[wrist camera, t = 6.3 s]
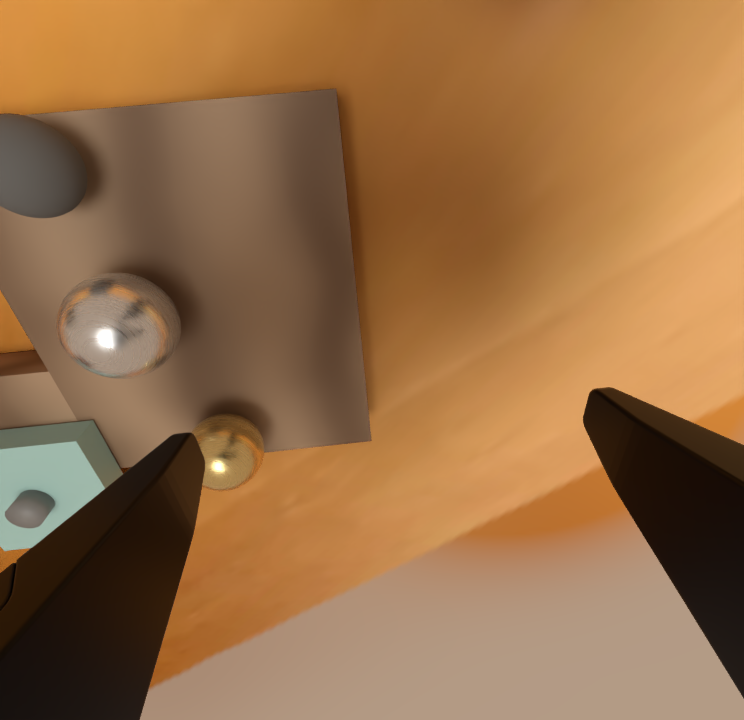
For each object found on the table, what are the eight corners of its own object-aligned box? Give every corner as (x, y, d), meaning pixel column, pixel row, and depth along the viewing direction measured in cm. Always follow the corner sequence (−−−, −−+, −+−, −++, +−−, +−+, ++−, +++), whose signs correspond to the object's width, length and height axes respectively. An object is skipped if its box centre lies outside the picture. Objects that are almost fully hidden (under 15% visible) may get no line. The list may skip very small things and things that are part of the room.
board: (336, 92, 16) (336, 88, 14) (368, 413, 24) (371, 440, 22) (-249, 142, 15) (-341, 145, 13) (-8, 453, 23) (-41, 485, 21)
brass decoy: (261, 394, 20) (247, 445, 17) (275, 448, 22) (265, 503, 19) (187, 402, 20) (160, 455, 17) (208, 455, 22) (187, 511, 18)
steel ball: (176, 254, 16) (133, 291, 13) (205, 342, 18) (175, 393, 15) (74, 263, 16) (3, 303, 12) (115, 350, 18) (64, 405, 15)
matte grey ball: (81, 109, 13) (21, 108, 11) (118, 204, 15) (73, 223, 12) (-10, 117, 13) (-93, 117, 11) (36, 212, 15) (-27, 232, 12)
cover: (92, 420, 20) (63, 456, 18) (145, 513, 23) (126, 553, 21) (-53, 435, 19) (-101, 474, 17) (23, 526, 23) (-10, 568, 21)
